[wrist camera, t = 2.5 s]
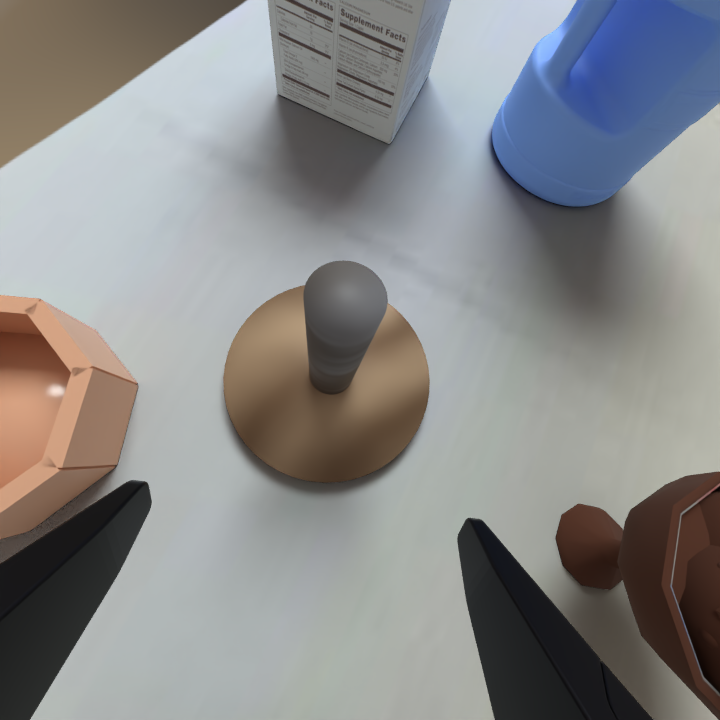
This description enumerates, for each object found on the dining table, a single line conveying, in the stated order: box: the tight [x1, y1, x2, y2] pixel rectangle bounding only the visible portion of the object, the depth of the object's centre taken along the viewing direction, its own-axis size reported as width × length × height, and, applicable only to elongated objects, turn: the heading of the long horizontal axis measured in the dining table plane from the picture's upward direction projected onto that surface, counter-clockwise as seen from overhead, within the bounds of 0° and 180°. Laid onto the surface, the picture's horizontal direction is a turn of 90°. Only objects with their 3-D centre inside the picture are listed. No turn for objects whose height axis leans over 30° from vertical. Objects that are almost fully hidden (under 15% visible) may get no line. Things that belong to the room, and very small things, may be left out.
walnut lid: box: [224, 261, 429, 483], centre depth 17 cm, size 15×15×13 cm
